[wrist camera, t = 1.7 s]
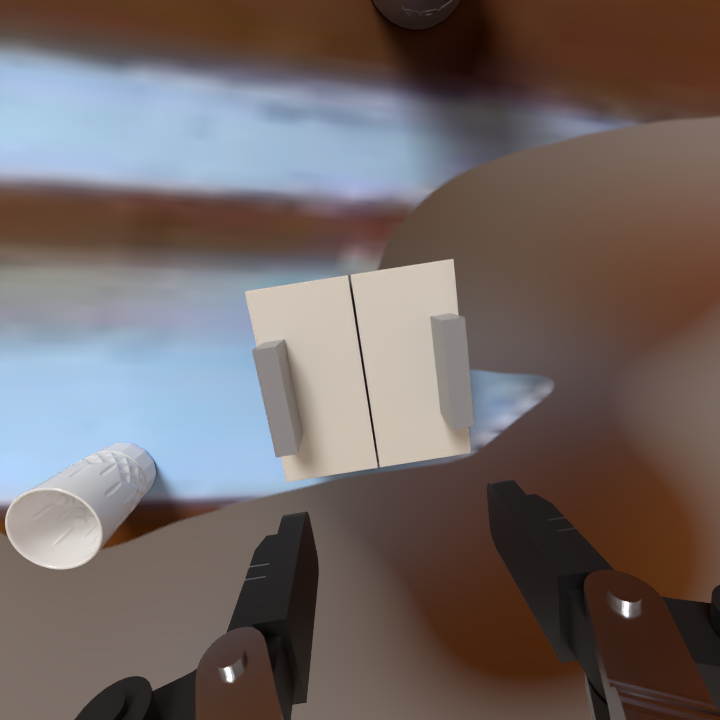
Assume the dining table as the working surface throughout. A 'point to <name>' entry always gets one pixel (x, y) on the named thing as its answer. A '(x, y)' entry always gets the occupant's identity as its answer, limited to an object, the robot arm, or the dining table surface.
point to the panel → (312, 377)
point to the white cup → (79, 506)
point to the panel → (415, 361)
